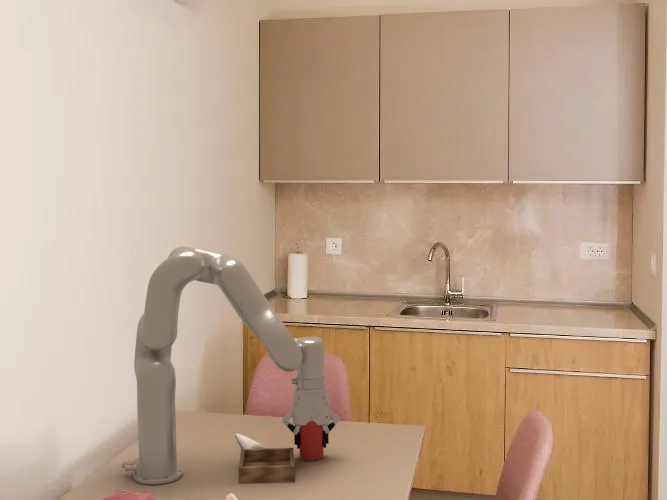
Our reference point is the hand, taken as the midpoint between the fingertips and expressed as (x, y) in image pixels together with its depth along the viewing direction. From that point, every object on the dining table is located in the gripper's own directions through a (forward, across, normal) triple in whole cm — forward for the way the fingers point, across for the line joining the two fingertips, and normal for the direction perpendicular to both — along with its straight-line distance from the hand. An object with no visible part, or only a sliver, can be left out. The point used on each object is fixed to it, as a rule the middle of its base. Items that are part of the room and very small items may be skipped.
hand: (311, 446), depth 217 cm
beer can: (+3, 0, 0) cm, 3 cm away
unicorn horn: (+4, -18, +9) cm, 21 cm away
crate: (+3, -12, -10) cm, 16 cm away
